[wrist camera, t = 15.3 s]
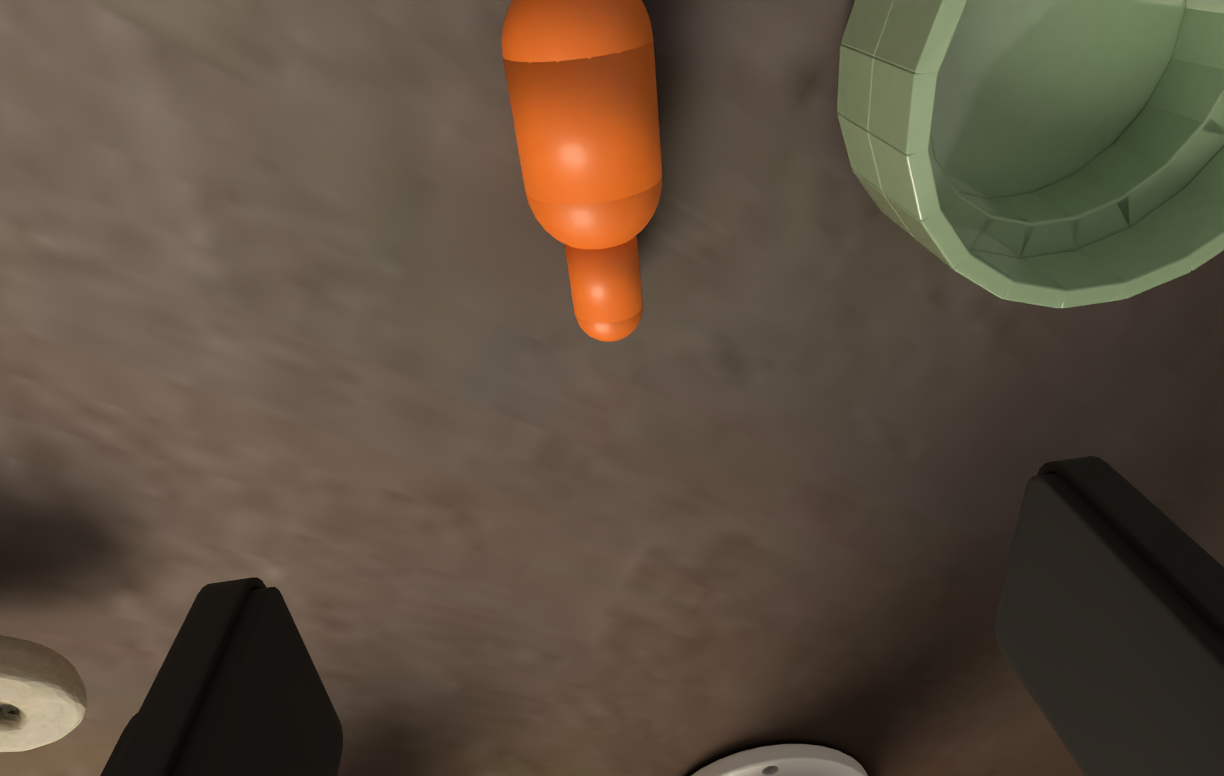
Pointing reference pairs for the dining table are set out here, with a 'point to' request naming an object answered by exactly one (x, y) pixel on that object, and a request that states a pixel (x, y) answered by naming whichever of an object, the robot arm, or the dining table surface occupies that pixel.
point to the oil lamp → (37, 695)
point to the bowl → (1043, 138)
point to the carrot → (588, 143)
